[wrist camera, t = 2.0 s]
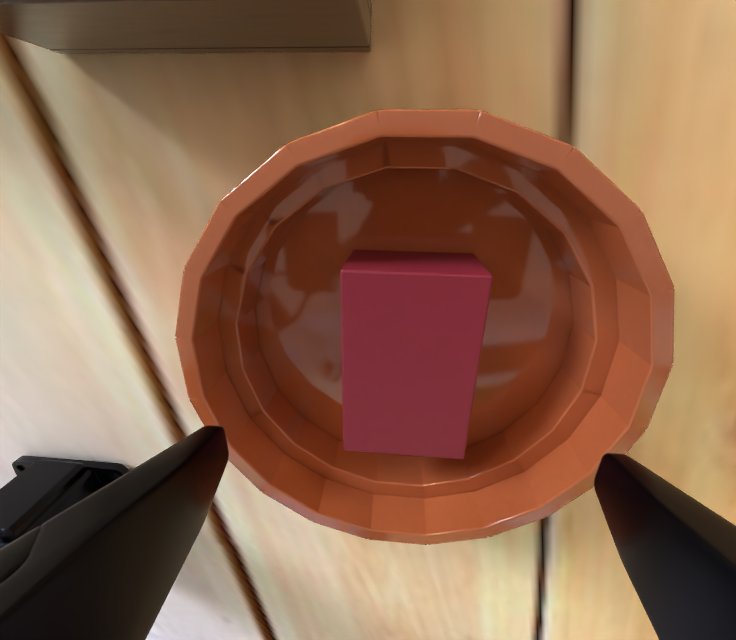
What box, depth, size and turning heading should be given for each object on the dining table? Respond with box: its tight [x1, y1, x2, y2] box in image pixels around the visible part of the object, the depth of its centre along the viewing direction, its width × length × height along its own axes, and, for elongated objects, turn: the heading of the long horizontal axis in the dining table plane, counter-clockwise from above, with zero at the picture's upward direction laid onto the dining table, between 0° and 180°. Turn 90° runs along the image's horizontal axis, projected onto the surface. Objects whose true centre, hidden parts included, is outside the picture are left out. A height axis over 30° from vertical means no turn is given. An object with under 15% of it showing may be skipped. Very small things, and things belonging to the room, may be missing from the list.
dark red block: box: [341, 250, 493, 459], centre depth 13 cm, size 7×4×3 cm, turn 179°
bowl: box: [175, 109, 674, 545], centre depth 13 cm, size 15×15×4 cm
